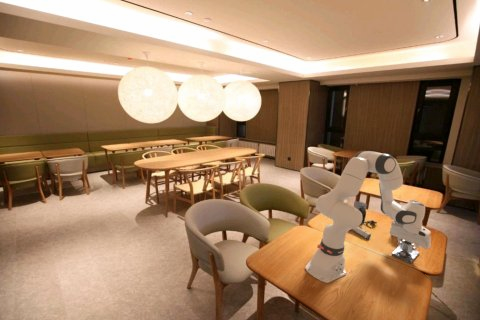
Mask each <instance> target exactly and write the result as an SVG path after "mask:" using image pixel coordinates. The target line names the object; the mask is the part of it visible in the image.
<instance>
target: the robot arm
mask: <svg viewBox="0 0 480 320" xmlns="http://www.w3.org/2000/svg"><path fill="white" fill-rule="evenodd" d="M368 172H369V173H374V174H377V175H378V180H379V183H378V185H379V193H380V194H379V195H380V212H381V213H382V214H384V215H386V216H387V217H389V218H390V219H392V220H393V221H391V223H390V226H391V227H390V229H389V234H390V236H393V237H396V239H397V241H398V246H400V245H401V242H402V240H405V241H408V242H410V243H413V244H414V247H413V248H412V250H413V251H417V249H418V248H419V247H420V248H422V249H426V250H428V249H430V248H431V243H432V237H431V236H430V235H431V233H432V232H431V230H429V229H428V228H426V227H424V226H423V220H424V218H425V214H426V206H425V204H423V203H422V202H419V201H417V200H409V201H408V202H407V203H405V204H403V205H401V204H400V203H398V202H397V201H396V200H395V199H394V197H393V191H395V190H398V189H400V188H401V187H402V186H403V184H404V179H403V174H402V173H403V172H402V171H401V167H400V165H399V163H398V160H396V158H395V157H394V156H392V155H391V154H389V153H381V152H377V151H372V150H371V151H370V150H368V151H367V150H361V151H358V152H356V153H355V154H354V156H353V157H352V158H350V159H349V161H348V162H347V164H346V165H345V167H344V169H343V170H342V173H341V175H340V177H339V179H338V181H337V183H336V185H335V186H334V187H333V188H332V189H331V190H330V191H329V192H328V193H325V194H322V195H320V196H318V198H317V199H316V201H315V207H316V208H315V209H316V210H317V211H318V212H320V213H321V215H323V216H324V217H326V218H329V219H330V220H332V221H333V223H330V224H327V225H326V226H325V227H324V228H323V234H322V239H321V241H320V242H319V244H317V246H316V247H317V248H318V249H317V250H316V251H315V252H314V254H313V255H312V258H311V259H310V260H309V261H308V262H307V264H306V265H305V267H304V269H305V270H306V272H307V273H308V274H309V275H311V276H312V277H313V278H315V279H316V280H318V281H320V282H323V283H326V284H328V283H331V282H333V281H335V280H337V279H339V278H342V277H344V276H346V275H347V271H346V270H345V266H346V265H345V264H346V258H345V255H344V252H345V240H346V236H347V233H348V232H349V231H350V230H352V229H354V228H357V227H360V225H362V224H361V223H362V219H363V216H362V213H361V212H360V211H359V210H358V209H356V208H355V207H354V205H351V204H349V203H347V202H345V201H346V200H347V199H348V198H352V197H355V196H357V195H359V193H360V190H361V188H362V186H363V184H364V181H365V179H366V177H367V173H368Z"/></svg>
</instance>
